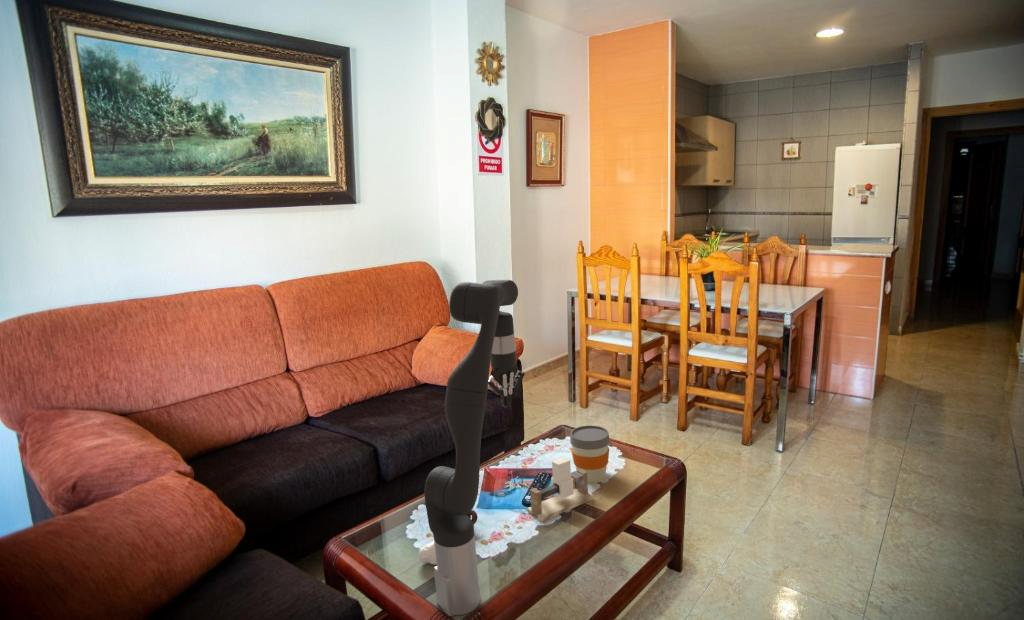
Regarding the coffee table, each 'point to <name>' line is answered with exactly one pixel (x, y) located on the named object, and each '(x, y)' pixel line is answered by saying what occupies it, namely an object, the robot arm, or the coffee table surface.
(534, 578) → the coffee table surface
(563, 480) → the cream upright block
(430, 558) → the duck figurine
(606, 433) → the reusable coffee cup
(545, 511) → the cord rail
